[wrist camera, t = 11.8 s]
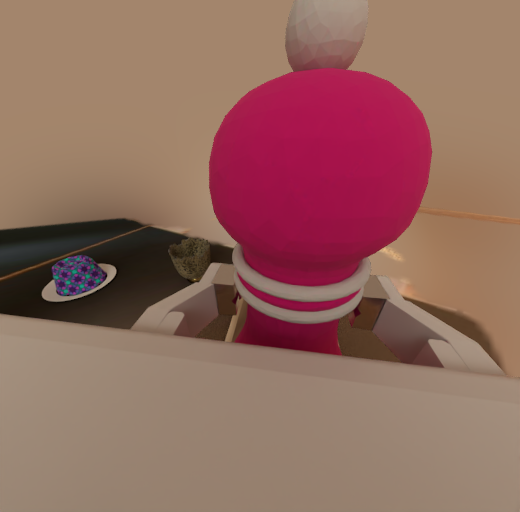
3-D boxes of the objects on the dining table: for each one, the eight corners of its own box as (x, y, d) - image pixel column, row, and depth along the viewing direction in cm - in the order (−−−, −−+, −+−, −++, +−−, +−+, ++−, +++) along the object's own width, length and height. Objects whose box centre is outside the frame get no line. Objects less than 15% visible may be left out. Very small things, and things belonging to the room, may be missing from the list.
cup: (201, 265, 46) (195, 233, 41) (222, 278, 41) (217, 244, 37) (171, 280, 41) (160, 246, 37) (190, 297, 37) (181, 261, 33)
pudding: (28, 295, 38) (10, 273, 35) (92, 262, 47) (81, 243, 45) (71, 311, 34) (55, 288, 32) (130, 272, 44) (121, 252, 41)
